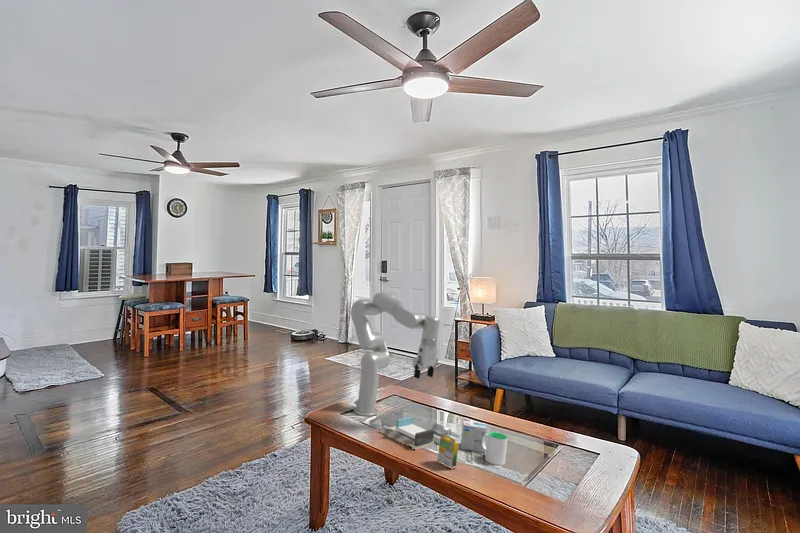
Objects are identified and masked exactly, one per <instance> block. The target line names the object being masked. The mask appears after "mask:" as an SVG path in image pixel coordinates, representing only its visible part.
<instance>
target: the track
mask: <svg viewBox="0 0 800 533" xmlns="http://www.w3.org/2000/svg"><path fill="white" fill-rule="evenodd" d="M395 428H396V425H394V426H387V425H382V428H381V429H380V433H381V434H382V435H384V436H386V437H388V438H390V439H392V440H394V441H396V442H398V441H399V442H398V443H400V442H401V443H404V444H406V445H408V446H410V447H412V448H413V449H415V450H416V449H419V450H422V449H425V448H429V447H432V446H434V444H435V442H434V441H433V436H434V430H432V428H431V429H426V430H427V431H423V432H419V433H416V434H415V440H413V439H411V438H409V437H407V436H405V434H404V435H403V434H401V433H399V431H397V430H395ZM401 443H400V444H401ZM421 448H422V449H421ZM413 449H412V450H413ZM415 450H414V451H415ZM416 451H417V450H416Z"/></svg>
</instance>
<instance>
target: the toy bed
mask: <svg viewBox="0 0 800 533" xmlns="http://www.w3.org/2000/svg"><path fill="white" fill-rule="evenodd" d="M395 422H396V423H395V426H396V428H395V430H397V431H399V433H401V434H403V435H404V434H405V436H407V437H409V438H411V439H413V440H415V434H416V433H419V432H423V431H427V430H428V429H424V428H422V427H420V426H418V425H415V424H414V417H413V416H407V417H402V418H398V419H396V421H395Z"/></svg>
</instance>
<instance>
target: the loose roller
mask: <svg viewBox="0 0 800 533" xmlns="http://www.w3.org/2000/svg"><path fill="white" fill-rule="evenodd" d="M431 429H432V430H434V434H436V435H438V436H440V437H441V433H442V434H444V435H446V436H448V437H450V435H451V430H452V429H451V428H449V427H447V426H444V425H441V424H439V423H437V422H435V423H434V424H433V425H432V427H431ZM448 437H446V438H448Z"/></svg>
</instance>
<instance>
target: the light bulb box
mask: <svg viewBox="0 0 800 533" xmlns="http://www.w3.org/2000/svg"><path fill="white" fill-rule="evenodd" d="M461 426H462V428H461V435H460V449H461V450H467V451H473V452H480V453H486V451H485V450H484V449H483V447H482V437H483V435H485V434H488V427H487V424H486V423H485V422H475V421H471V420H465V419H464V420H462V425H461ZM485 446H486V447H487V436H486V437H485Z"/></svg>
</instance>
